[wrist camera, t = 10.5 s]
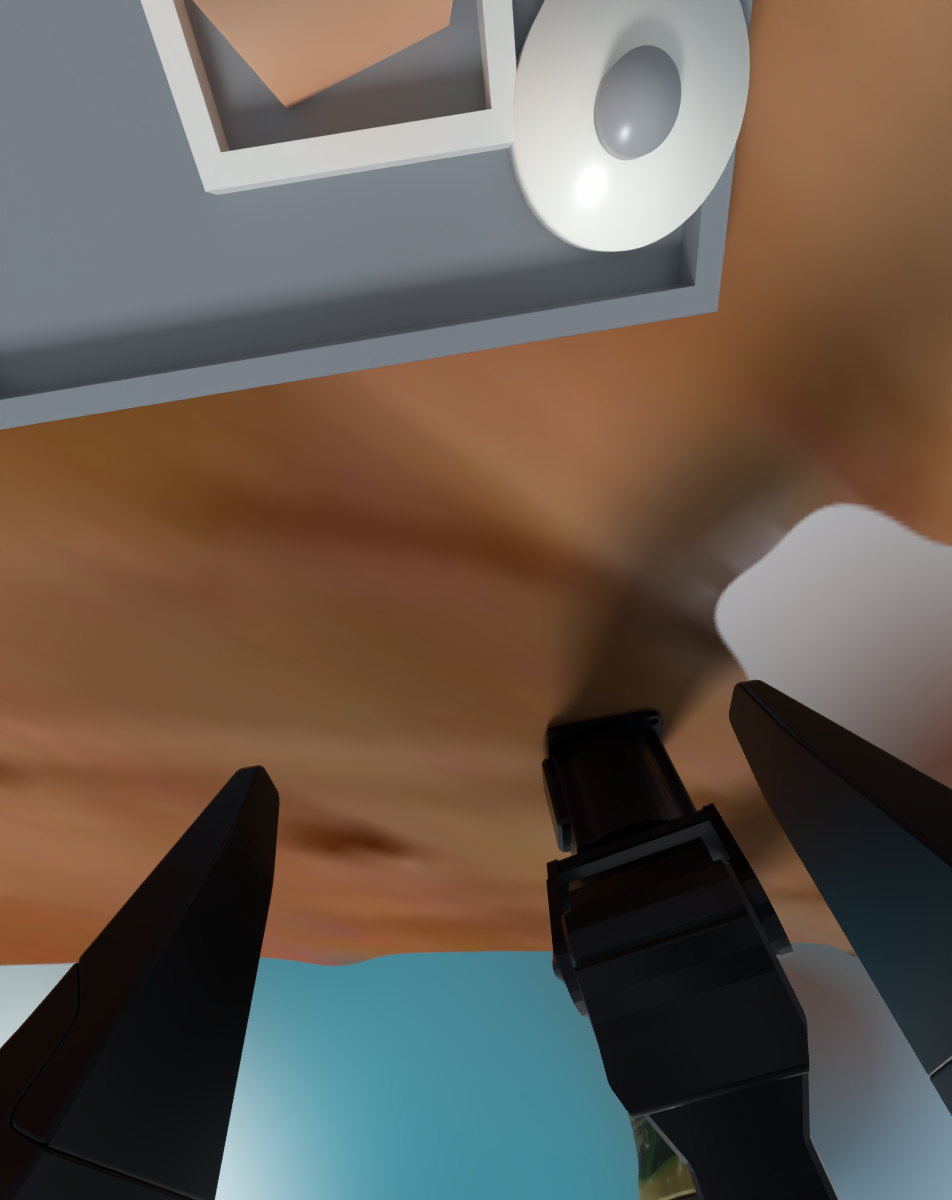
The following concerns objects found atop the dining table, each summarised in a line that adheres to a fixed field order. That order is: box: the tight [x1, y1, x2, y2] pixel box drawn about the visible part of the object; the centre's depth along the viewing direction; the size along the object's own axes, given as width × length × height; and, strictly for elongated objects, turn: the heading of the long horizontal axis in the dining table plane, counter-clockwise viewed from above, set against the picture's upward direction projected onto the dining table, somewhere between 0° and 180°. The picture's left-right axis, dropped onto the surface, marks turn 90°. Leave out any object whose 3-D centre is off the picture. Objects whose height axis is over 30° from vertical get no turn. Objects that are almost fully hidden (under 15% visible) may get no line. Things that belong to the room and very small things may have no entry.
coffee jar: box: [628, 1113, 699, 1200], centre depth 38 cm, size 10×8×19 cm
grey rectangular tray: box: [0, 0, 753, 429], centre depth 13 cm, size 24×14×3 cm, turn 98°
